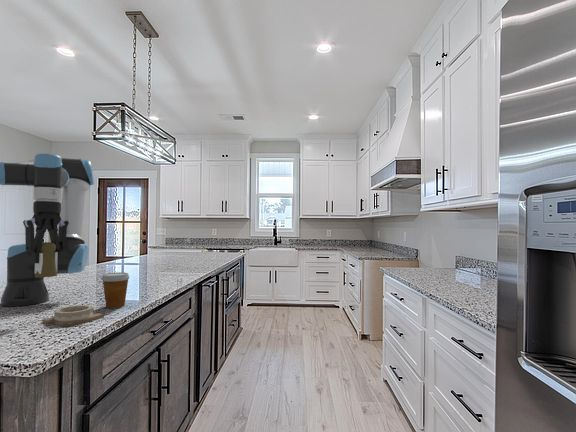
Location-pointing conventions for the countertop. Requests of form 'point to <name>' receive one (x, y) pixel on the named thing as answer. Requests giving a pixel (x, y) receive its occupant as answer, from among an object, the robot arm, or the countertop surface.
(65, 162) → the robot arm
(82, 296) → the countertop surface
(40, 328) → the countertop surface
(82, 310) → the collar base
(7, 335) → the countertop surface
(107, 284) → the disposable coffee cup
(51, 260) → the olive knobbed peg
